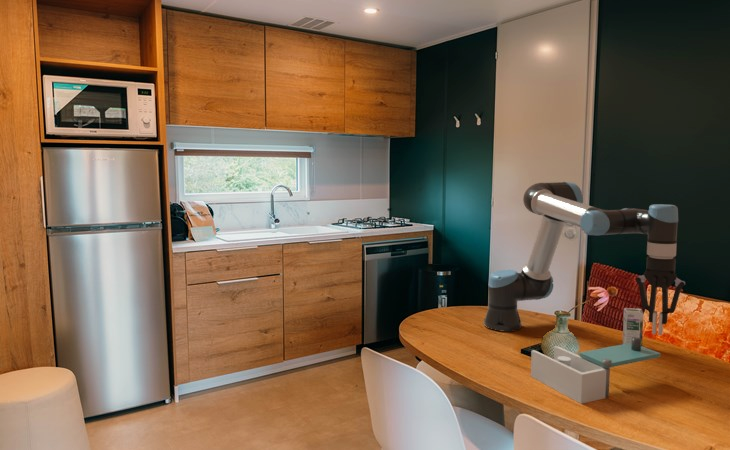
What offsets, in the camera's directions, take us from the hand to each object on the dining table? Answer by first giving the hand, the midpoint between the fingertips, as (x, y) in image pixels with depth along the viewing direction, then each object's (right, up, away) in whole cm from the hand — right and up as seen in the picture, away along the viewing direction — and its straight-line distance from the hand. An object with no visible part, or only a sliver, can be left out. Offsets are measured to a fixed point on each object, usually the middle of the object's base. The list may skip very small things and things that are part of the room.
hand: (657, 333), depth 157 cm
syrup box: (+10, -13, +35) cm, 38 cm away
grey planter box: (-26, -17, +3) cm, 31 cm away
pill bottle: (-27, -17, +4) cm, 32 cm away
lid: (-11, -7, +1) cm, 13 cm away
